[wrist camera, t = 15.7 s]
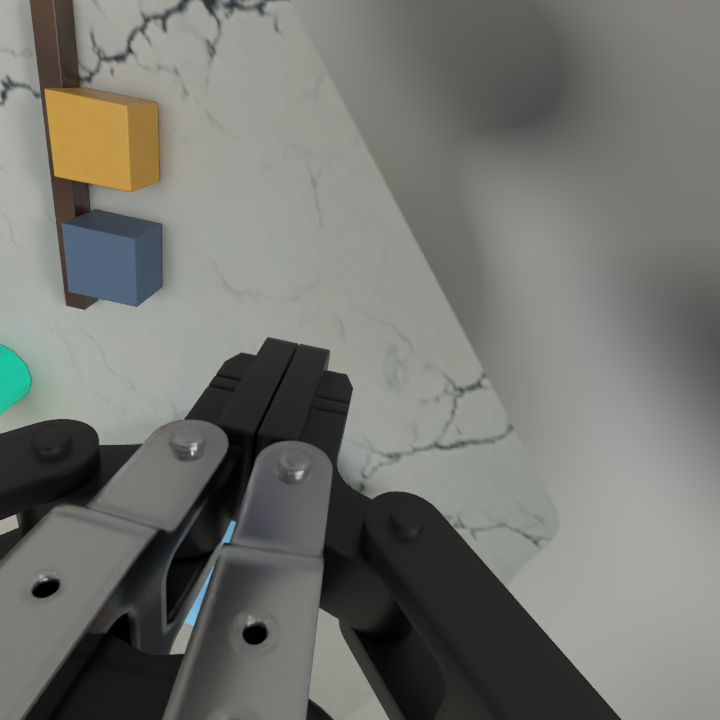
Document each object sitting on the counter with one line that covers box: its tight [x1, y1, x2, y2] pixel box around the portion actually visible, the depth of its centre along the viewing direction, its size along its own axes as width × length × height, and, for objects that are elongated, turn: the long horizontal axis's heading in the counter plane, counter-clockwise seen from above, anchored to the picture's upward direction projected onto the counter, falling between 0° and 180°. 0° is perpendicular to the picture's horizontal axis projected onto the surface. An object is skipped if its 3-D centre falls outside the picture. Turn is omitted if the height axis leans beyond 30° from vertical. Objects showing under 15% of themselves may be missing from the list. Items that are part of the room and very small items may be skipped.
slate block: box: [62, 210, 162, 307], centre depth 36 cm, size 5×5×4 cm
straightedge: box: [30, 0, 97, 310], centre depth 35 cm, size 20×2×2 cm, turn 169°
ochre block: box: [44, 88, 159, 192], centre depth 33 cm, size 5×5×4 cm
